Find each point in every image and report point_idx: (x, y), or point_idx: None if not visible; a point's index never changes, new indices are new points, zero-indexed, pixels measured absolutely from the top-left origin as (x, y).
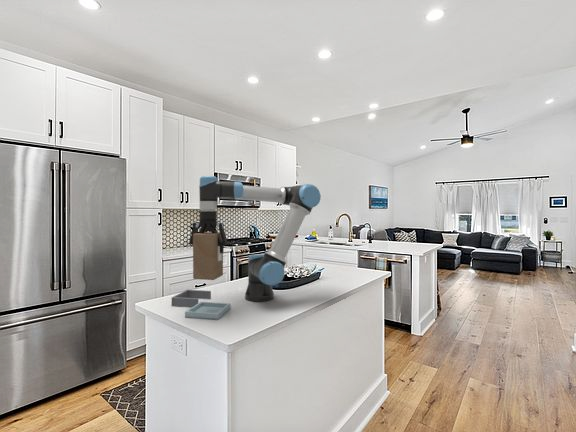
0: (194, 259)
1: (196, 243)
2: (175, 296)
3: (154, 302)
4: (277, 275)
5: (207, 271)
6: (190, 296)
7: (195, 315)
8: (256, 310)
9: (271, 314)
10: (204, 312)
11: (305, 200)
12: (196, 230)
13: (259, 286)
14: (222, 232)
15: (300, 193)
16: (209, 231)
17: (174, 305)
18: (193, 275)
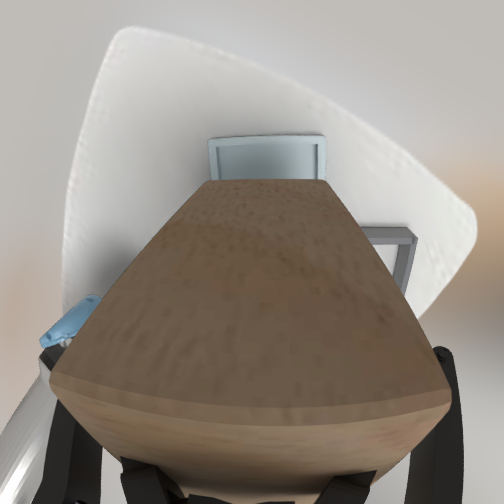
0: (340, 214)
1: (355, 295)
2: (410, 251)
3: (455, 246)
4: (63, 316)
5: (234, 189)
6: None
7: (286, 135)
8: (146, 239)
9: (101, 220)
10: (257, 143)
11: None
12: (414, 494)
13: None
14: (49, 439)
15: None
16: (206, 498)
17: (399, 227)
18: (326, 183)
